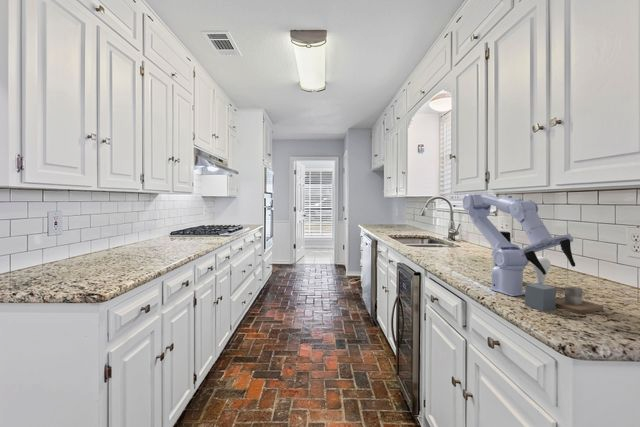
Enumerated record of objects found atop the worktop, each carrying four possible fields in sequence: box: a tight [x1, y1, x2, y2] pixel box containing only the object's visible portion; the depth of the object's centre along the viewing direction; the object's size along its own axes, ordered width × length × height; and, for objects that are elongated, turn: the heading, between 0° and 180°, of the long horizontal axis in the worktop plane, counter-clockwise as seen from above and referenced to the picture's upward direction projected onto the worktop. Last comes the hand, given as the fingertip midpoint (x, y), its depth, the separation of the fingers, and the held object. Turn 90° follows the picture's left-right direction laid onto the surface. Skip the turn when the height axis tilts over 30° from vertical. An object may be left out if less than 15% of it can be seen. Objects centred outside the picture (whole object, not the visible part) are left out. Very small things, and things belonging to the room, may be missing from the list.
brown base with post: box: [555, 285, 604, 315], centre depth 98 cm, size 10×11×6 cm
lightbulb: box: [531, 256, 552, 285], centre depth 125 cm, size 6×6×11 cm
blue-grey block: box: [524, 282, 557, 312], centre depth 98 cm, size 6×6×7 cm
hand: (559, 269), depth 94 cm, fingers open, 7 cm apart
